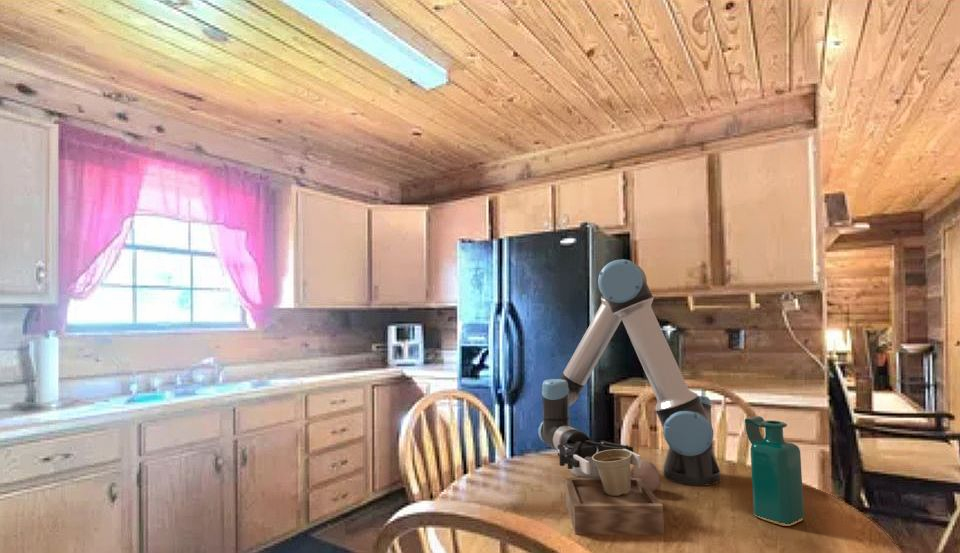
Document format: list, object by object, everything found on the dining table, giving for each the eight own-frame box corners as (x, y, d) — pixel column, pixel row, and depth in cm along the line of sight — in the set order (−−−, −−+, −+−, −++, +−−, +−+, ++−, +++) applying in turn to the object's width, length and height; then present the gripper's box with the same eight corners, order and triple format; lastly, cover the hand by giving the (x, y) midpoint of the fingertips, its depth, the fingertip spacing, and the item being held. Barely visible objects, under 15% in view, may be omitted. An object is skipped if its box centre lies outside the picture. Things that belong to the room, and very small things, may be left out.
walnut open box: (641, 503, 133) (640, 477, 133) (664, 536, 114) (662, 505, 114) (565, 504, 134) (564, 478, 134) (575, 536, 115) (574, 506, 115)
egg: (656, 499, 135) (654, 465, 135) (628, 494, 139) (626, 461, 139) (663, 490, 141) (661, 458, 141) (636, 485, 145) (635, 454, 145)
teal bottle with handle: (807, 520, 120) (802, 421, 121) (787, 529, 115) (782, 426, 116) (765, 507, 128) (760, 414, 129) (744, 515, 123) (740, 419, 125)
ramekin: (605, 465, 164) (605, 442, 164) (618, 479, 151) (617, 454, 151) (563, 466, 163) (562, 443, 164) (572, 480, 150) (571, 455, 151)
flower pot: (639, 497, 121) (632, 459, 122) (598, 500, 123) (591, 463, 124) (636, 482, 131) (630, 447, 131) (598, 486, 132) (591, 451, 133)
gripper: (613, 452, 147) (660, 475, 127) (529, 462, 140) (566, 487, 119) (612, 424, 147) (659, 443, 127) (529, 433, 140) (564, 453, 120)
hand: (614, 464), depth 123 cm, fingers open, 13 cm apart
